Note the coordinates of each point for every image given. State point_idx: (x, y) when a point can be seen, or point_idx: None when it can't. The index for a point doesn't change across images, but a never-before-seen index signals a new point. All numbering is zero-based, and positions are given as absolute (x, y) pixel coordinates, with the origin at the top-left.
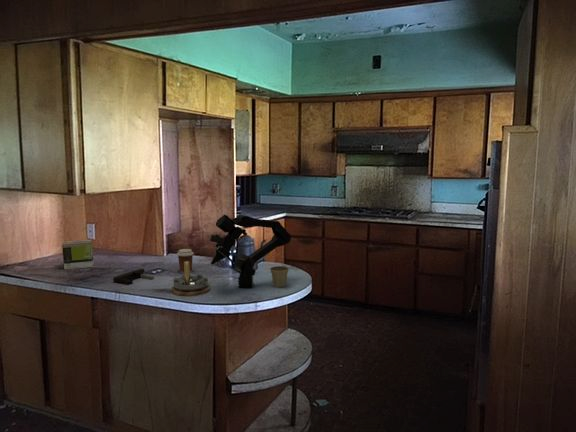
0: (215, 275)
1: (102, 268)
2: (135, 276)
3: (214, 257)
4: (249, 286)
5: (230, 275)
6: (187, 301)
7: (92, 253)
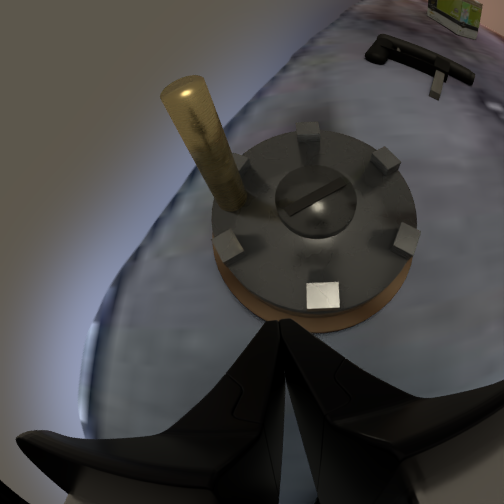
0: None
1: (460, 42)
2: (418, 62)
3: (222, 381)
4: None
5: None
6: (148, 241)
7: (472, 20)
